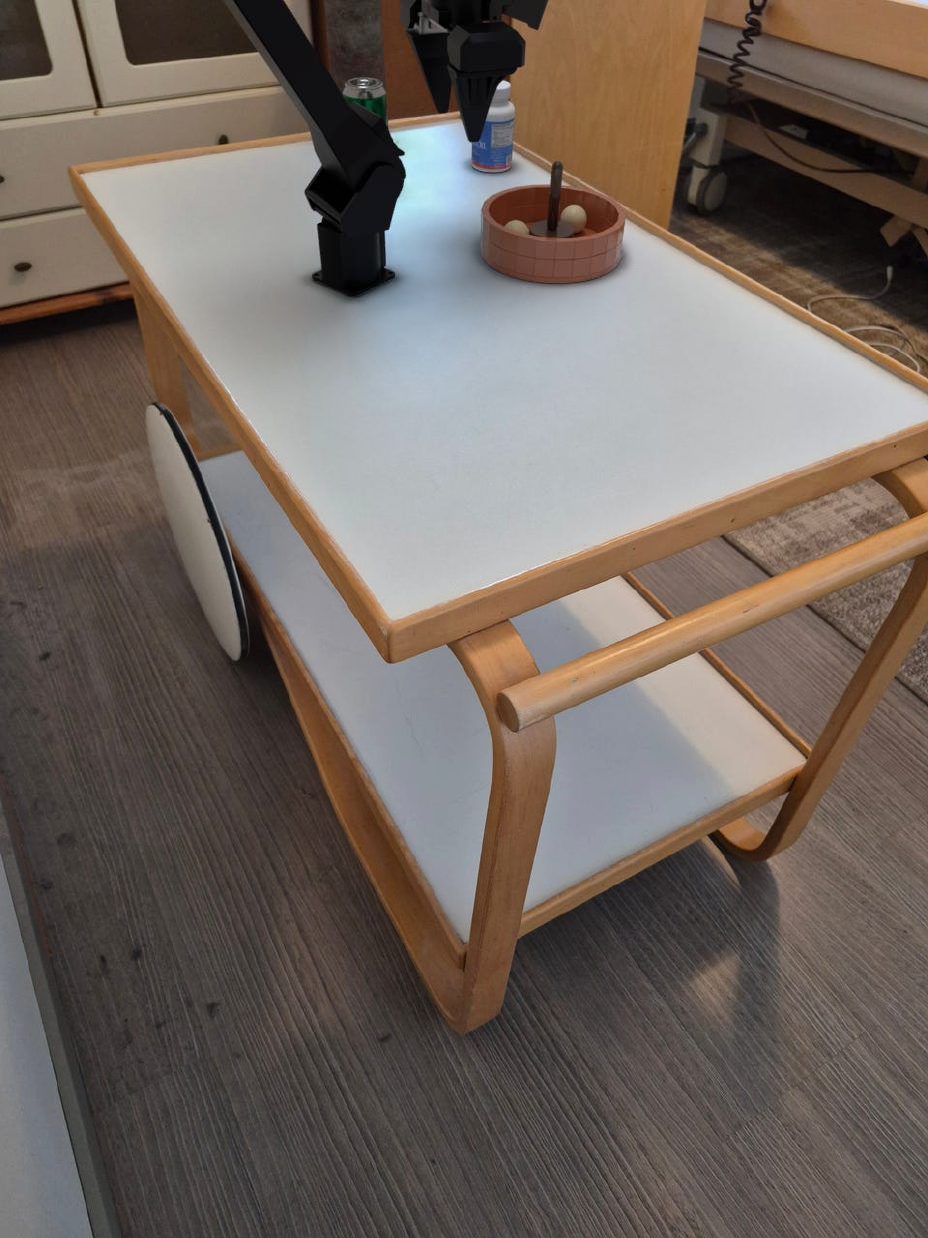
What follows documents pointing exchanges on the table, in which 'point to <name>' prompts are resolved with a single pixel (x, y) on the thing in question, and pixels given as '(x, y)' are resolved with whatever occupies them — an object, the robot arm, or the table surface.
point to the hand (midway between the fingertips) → (457, 126)
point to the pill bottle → (496, 134)
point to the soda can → (367, 95)
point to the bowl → (551, 256)
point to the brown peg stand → (553, 210)
